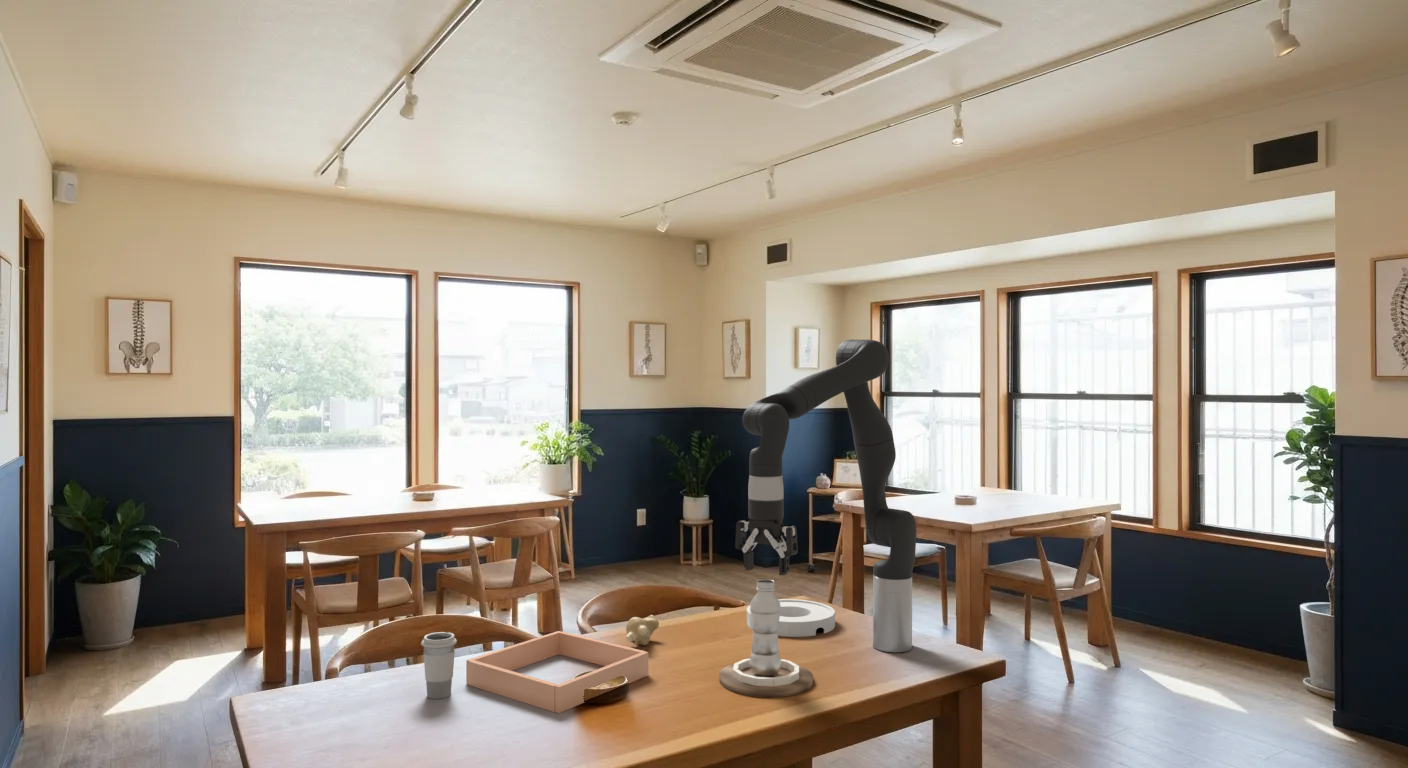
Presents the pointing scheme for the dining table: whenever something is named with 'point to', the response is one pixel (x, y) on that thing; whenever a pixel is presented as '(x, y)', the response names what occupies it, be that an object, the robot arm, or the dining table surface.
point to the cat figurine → (641, 629)
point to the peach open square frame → (500, 679)
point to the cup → (439, 663)
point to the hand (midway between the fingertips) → (766, 572)
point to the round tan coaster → (766, 691)
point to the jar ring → (766, 680)
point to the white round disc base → (801, 618)
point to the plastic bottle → (765, 630)
